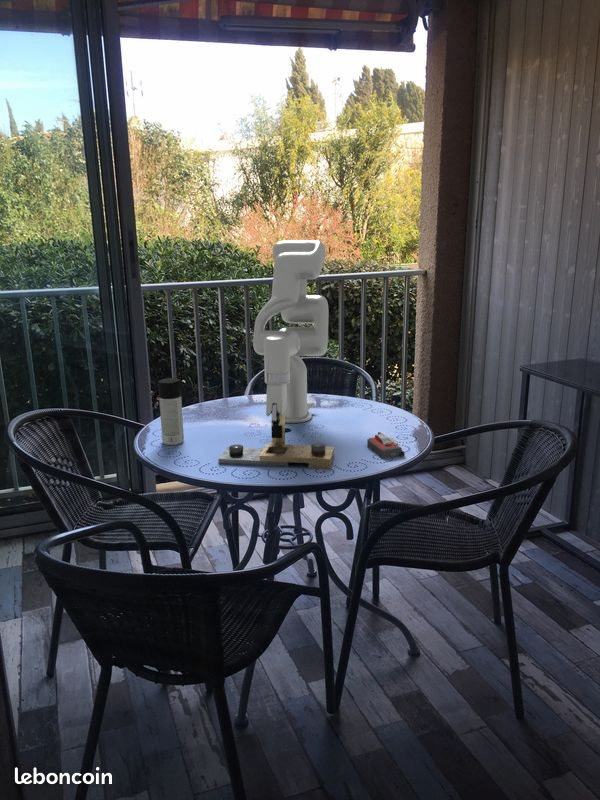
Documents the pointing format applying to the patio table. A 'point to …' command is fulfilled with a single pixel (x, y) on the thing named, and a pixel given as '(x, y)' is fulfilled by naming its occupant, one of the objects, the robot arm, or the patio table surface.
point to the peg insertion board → (279, 455)
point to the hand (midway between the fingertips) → (278, 434)
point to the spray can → (171, 411)
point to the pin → (282, 440)
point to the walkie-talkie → (384, 446)
